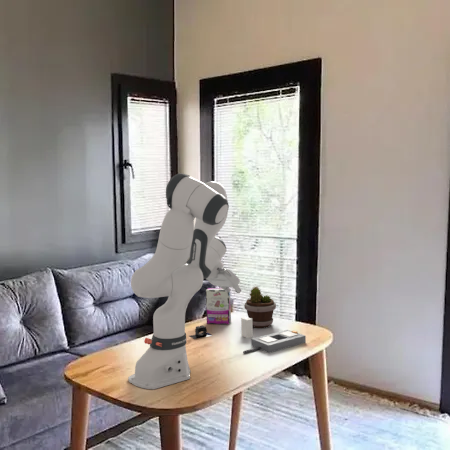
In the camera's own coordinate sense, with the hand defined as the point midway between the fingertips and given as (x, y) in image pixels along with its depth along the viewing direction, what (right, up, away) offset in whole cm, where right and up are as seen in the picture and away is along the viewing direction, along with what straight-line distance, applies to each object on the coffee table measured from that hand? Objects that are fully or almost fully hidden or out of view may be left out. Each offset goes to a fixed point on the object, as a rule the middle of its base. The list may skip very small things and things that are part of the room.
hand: (234, 291), depth 219 cm
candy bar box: (-7, -19, +32) cm, 38 cm away
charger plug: (+6, -21, +10) cm, 24 cm away
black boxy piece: (-14, -22, +12) cm, 29 cm away
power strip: (+15, -22, -4) cm, 27 cm away
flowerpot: (+13, -19, +26) cm, 35 cm away
